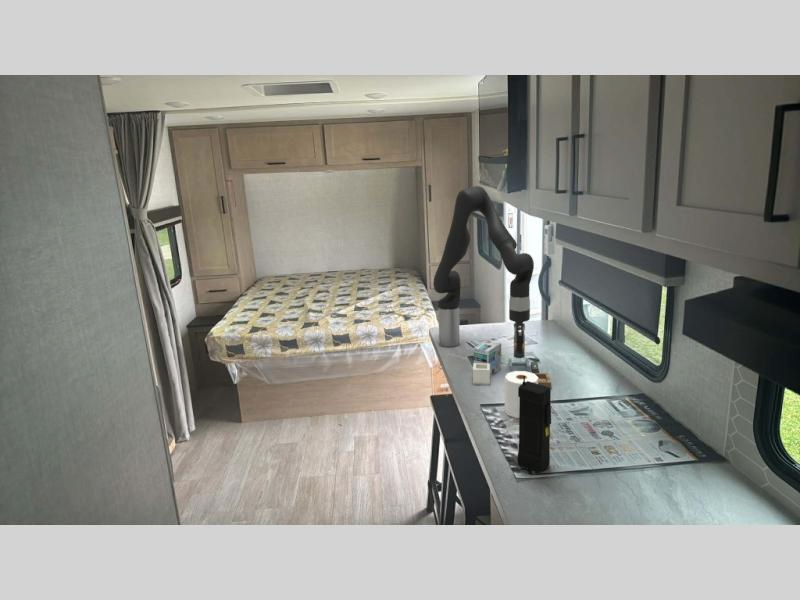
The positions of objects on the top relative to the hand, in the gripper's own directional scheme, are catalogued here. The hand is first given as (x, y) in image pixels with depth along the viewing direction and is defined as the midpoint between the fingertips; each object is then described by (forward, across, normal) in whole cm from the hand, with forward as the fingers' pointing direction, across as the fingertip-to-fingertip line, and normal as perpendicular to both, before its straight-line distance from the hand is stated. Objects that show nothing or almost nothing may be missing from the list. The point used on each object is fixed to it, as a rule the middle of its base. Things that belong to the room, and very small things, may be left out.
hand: (519, 350), depth 197 cm
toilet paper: (+9, +33, -1) cm, 34 cm away
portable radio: (+9, +64, +1) cm, 64 cm away
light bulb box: (+9, 0, -12) cm, 15 cm away
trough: (+9, +11, +6) cm, 15 cm away
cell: (+2, 0, 0) cm, 2 cm away
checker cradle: (+9, 0, +1) cm, 9 cm away
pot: (+9, +10, -14) cm, 19 cm away
